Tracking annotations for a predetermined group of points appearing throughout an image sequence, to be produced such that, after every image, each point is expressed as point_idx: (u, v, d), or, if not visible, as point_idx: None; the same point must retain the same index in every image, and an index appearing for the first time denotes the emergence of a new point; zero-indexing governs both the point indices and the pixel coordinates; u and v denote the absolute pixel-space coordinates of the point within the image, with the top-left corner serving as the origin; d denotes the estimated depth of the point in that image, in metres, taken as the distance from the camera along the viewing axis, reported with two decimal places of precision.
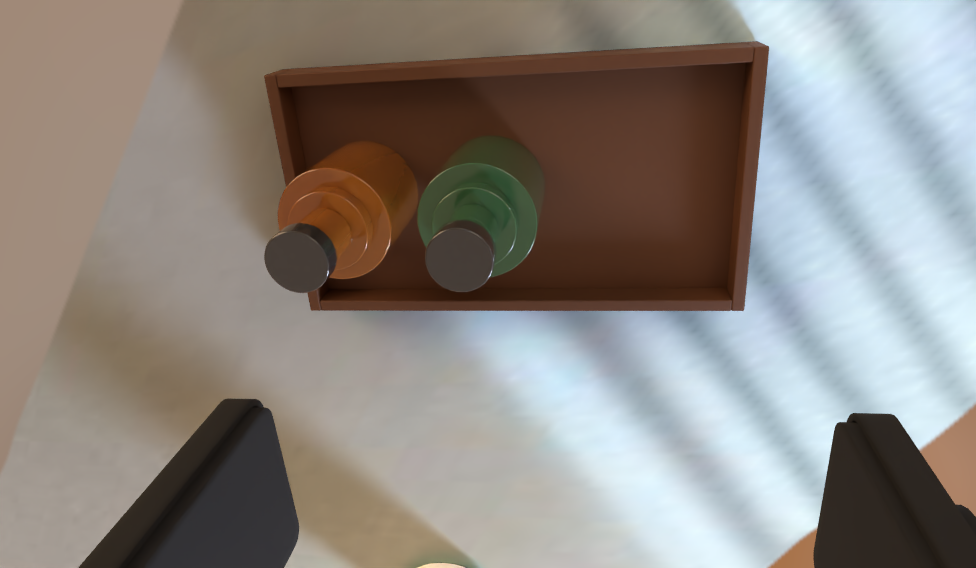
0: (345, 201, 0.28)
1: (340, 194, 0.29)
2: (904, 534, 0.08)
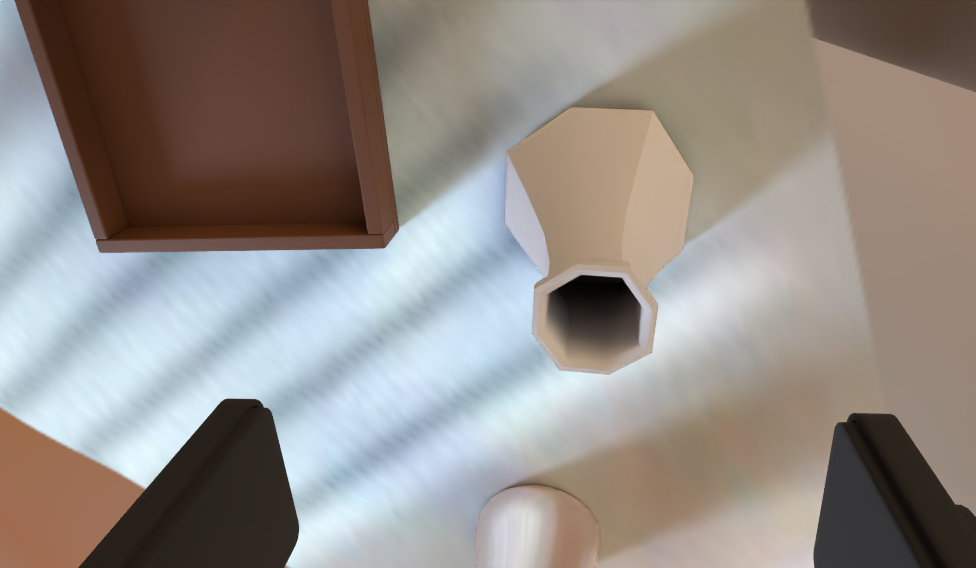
0: None
1: None
2: (904, 534, 0.08)
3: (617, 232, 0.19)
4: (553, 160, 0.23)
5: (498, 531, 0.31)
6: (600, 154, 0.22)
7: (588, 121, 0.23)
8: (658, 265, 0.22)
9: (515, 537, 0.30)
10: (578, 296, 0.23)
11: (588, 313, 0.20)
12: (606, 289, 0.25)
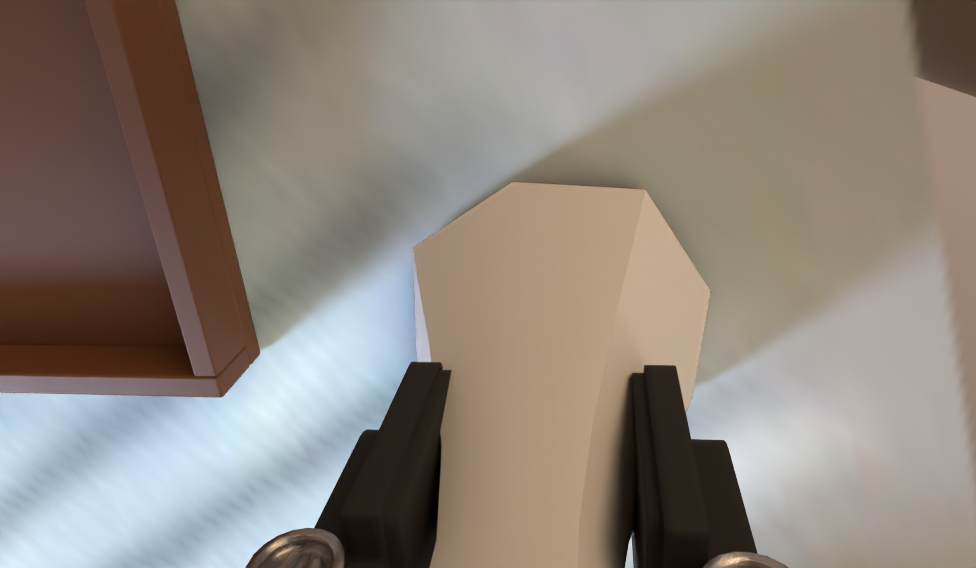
0: None
1: None
2: (643, 455, 0.09)
3: (573, 477, 0.09)
4: (475, 280, 0.13)
5: None
6: (553, 278, 0.13)
7: (538, 210, 0.14)
8: None
9: None
10: None
11: None
12: None
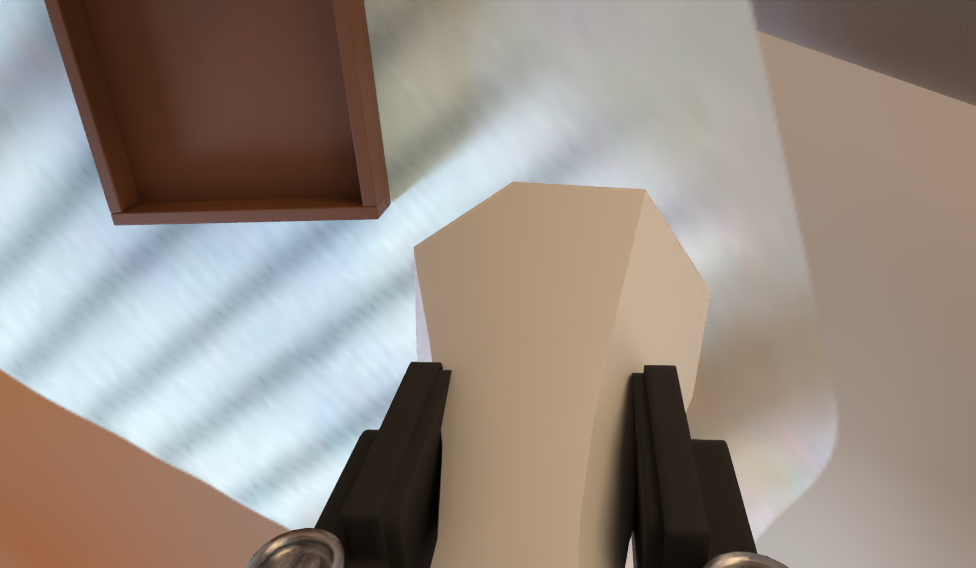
0: None
1: None
2: (643, 456, 0.09)
3: (574, 476, 0.09)
4: (476, 280, 0.13)
5: None
6: (554, 278, 0.13)
7: (538, 209, 0.14)
8: None
9: None
10: None
11: None
12: None
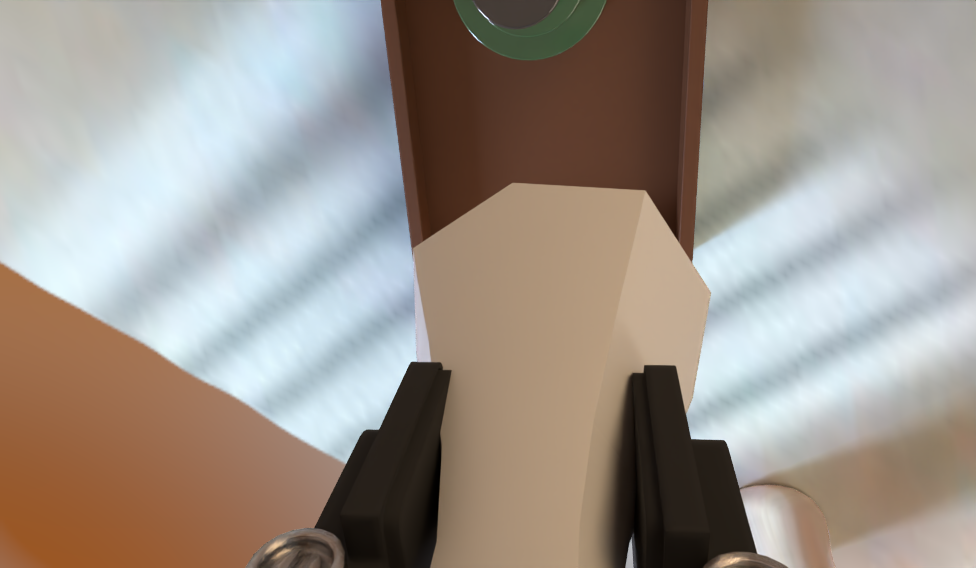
0: None
1: None
2: (643, 456, 0.09)
3: (573, 478, 0.09)
4: (475, 281, 0.13)
5: None
6: (553, 279, 0.13)
7: (538, 210, 0.14)
8: None
9: (770, 531, 0.33)
10: None
11: None
12: None
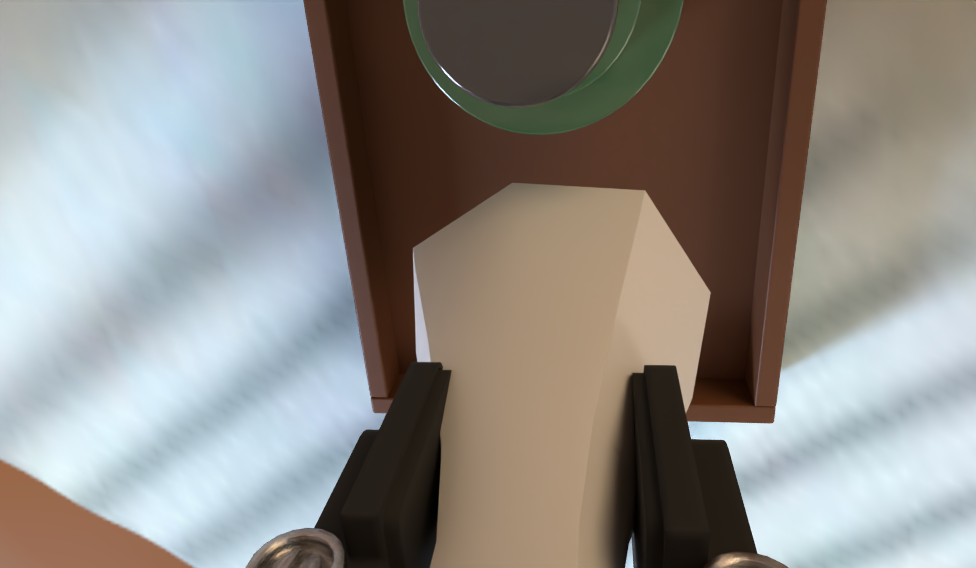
0: None
1: None
2: (643, 455, 0.09)
3: (573, 479, 0.09)
4: (475, 281, 0.13)
5: None
6: (553, 279, 0.13)
7: (537, 210, 0.14)
8: None
9: None
10: None
11: None
12: None
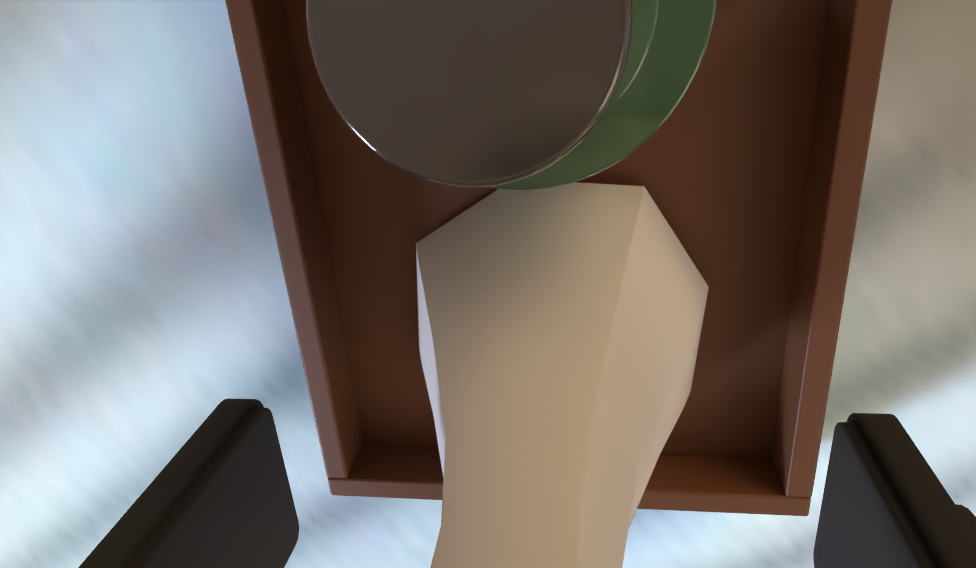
0: None
1: None
2: (904, 534, 0.08)
3: (574, 464, 0.10)
4: (478, 275, 0.14)
5: None
6: (554, 272, 0.13)
7: (539, 206, 0.14)
8: (653, 462, 0.13)
9: None
10: None
11: None
12: None
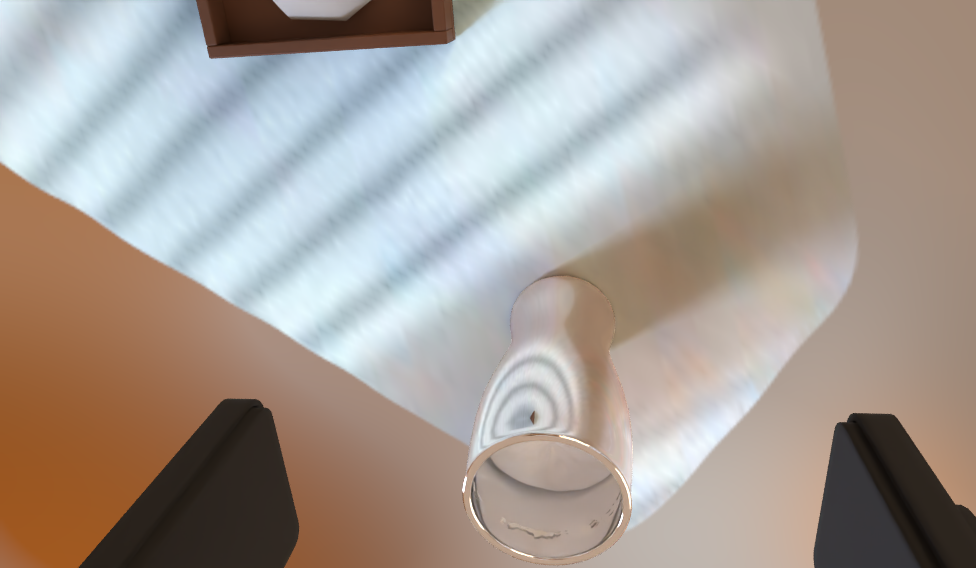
0: None
1: None
2: (904, 534, 0.08)
3: None
4: None
5: (532, 305, 0.37)
6: None
7: None
8: None
9: (547, 305, 0.36)
10: None
11: None
12: (319, 6, 0.31)
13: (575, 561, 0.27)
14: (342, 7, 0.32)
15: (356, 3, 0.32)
